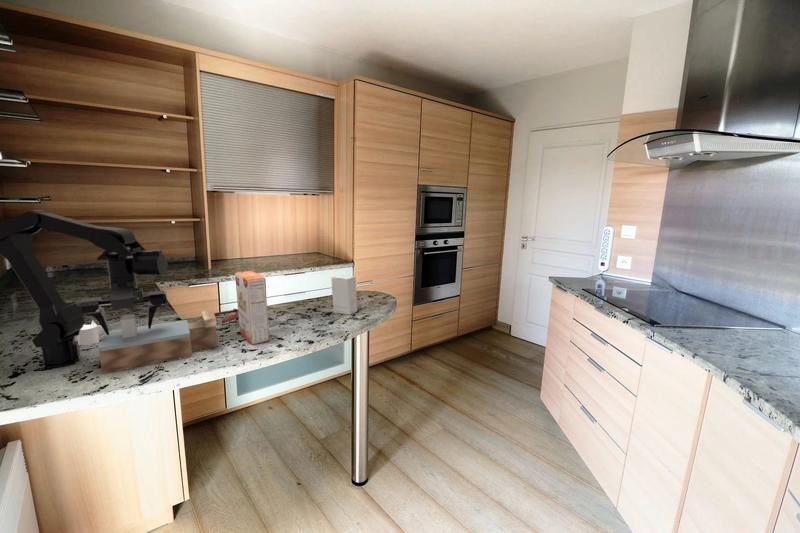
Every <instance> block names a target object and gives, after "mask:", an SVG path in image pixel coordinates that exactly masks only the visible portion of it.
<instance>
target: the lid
mask: <svg viewBox="0 0 800 533" xmlns="http://www.w3.org/2000/svg"><path fill="white" fill-rule="evenodd" d="M119 321H120V327H121V328H120V329H119V328H118V329H113V330H109V335H107V334H106V333H105V332H104V334H103V335H102V337H101V338H102V339H101V341H100V343H99V346H98V353H99V352H100V351H106V350H112V349H118V348H124V347H130V346H136V345H142V344H148V343H154V342H161V341H167V340H173V339H179V338H185V337H190V331H189V327H188V323H189V322H188V319H184V320H176V321H170V322H162V323H156V324H151V328H150V329H149V327H148V324H147V325H142V326H137V320H136V315H135V314H132V315H131V314H130V315H124V316H123V315H122V316H120V320H119Z"/></svg>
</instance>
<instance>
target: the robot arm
mask: <svg viewBox="0 0 800 533" xmlns="http://www.w3.org/2000/svg"><path fill="white" fill-rule="evenodd" d="M42 229H43V230H48V231H51V232H54V233H58V234H63V235H66V236H69V237H74V238H77V239H81V240H85V241H87V242H89V243H91V245H93V246H94V247H97V248H99V249H101V250H103V251H102V253H101V254H100V255H99V256H97V257H96V260H97V261H106V263H107V272H108V279H109V288H110V291H109V299H102V297H101V296H98V297H88V298H87V297H86V298H83V299H82V300H81V301H80V303H78V304H77V303H72V304H69V303H67V302H66V301H64V300H63V298H62V296H61V295H60V293H59V292H58V291H57V289H56V287H55V286H54V283H53V282H52V280H50V278H49V276H48V275H47V273H46V271H45V270H44V267H43V266H42V265H41V262H39V259H38V258H37V257H36V254H34V251H33V249H34V238H33V235H34V234H36V233H39V232H40V231H41V230H42ZM0 256H1V257H3V258H4V259H6V260H7V261H8V263H9V265H10V266H11V267H12V269H13V271H14V272H15V274H16V275H17V277H18V279H19V280H20V281H21V283H22V284H23V287H25V289H26V291H27V292H28V294H29V295H30V297H31V298H32V300H33V301H34V303H35V305H36V306H37V308H38V310H39V312H38V313H39V315H38V316H39V317H38V322H39V325H40V328H41V330H40V332H39V333H38V334H37V335H36V336H34V338H33V339H32V340H31V341H32V343H33V345H34V347H36V348H41V354H42V360H43V365H42V370H47V369H51V368H52V369H53V368H58V367H64V366H70V365H75V364H76V363H77V361H78V359H80V357H81V353H80V345H79V344H78V341H76V337H77V335H79V332H80V329H81V328H82V327H83V325H85V323H86V322H85V316H87V317H90V316H91V317H93V318H94V319H96V321H97V322H98V323H99V325H100V326H102V328H103V329H104V331H105V332H104V334H105V333H106V334H107V335H109V331H110V326H109V324H108V319H107V315H106V311H105V308H110V307H111V310H113V311H119V310H121V309H132V308H134V307H136V304H142V303H148V320H147V321H148V322H147V325H148V327H149V329H150V328H151V325H153V320H154V317H155V314H156V312H157V309H158V308H161V307H163V306H162V305H165V304H167V303H168V301H167V292H166V291H164V290H158V291H157V290H156V291H149V293H148V294H145V295H144V291H143V287H138V283H137V275H138V276H141V277H142V276H143V277H145V276H147V277H149V276H165V275H166V273H167V272H168V267H169V264H168V260H167V258H166V256H165V255H164V254H163V250H162V249H155V250H147V249H146V248H145V247H143V245H142V244H141V243H140V242H139V241H138V240H137V239H136V237H135V234H134V232H133V231H132V230H130V229H129V228H122V227H115V226H103V225H102V226H100V225H95V224H91V223H87V222H86V221H85V222H84V221H81V220H78V219H74V218H70V217H66V216H62V215H60V214H56V213H52V212H49V211H47V210H43V209H37V210H35V209H33V210H31V209H30V210H27V211H25V212H22V213H21V214H19V215H15V216H12V217H9V218H6V219H3V220H1V221H0ZM136 274H137V275H136ZM85 314H86V315H85Z"/></svg>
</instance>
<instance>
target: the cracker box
mask: <svg viewBox="0 0 800 533" xmlns="http://www.w3.org/2000/svg"><path fill="white" fill-rule="evenodd" d="M234 278H235V290H236V302H237V309H238V316H239V318H238V326H239V328H238V329H239V333H240V332H241V333H240V334H241V335H242V336H243V337H244V338H245V340H247V342H248V343H249V344H250V345H252V346H253V345H259V344H262V343H265V342H270V331H269V317H268V316H269V315H268V301H267V300H268V299H267V286H266V285H267V283H266V277H264V276H262V275H260V274H259V273H257V272H255V271H253V270H248V271H247V270H246V271H238V272H235V273H234Z"/></svg>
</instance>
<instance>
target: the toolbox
mask: <svg viewBox="0 0 800 533" xmlns="http://www.w3.org/2000/svg"><path fill="white" fill-rule="evenodd" d="M188 327H189V331H190V337H185V338H179V339H173V340H167V341H161V342H154V343H148V344H142V345H136V346H130V347H124V348H118V349H112V350H106V351H100V352H99V351H98V354H99V361H100V362H99V363H100V368H101V374H102V375H103V373H104V374H108V373H107V372H109V373H113V372H112V371H115V372H118V371H117V370H120V371H123V369H125V370H128V369H127V368H130V369H133V368H132V367H136V368H138V367H137V366H141V367H144V366H143V365H146V366H150V365H149V364H151V365H155V364H154V363H157V364H160V363H159V362H162V363H165V362H164V361H167V362H170V361H169V360H172V361H174V360H173V359H177V360H180V359H179V358H183V359H186V358H185V357H188V358H191V357H190V356H192V357H193V352H196V351H195V350H199V351H201V350H200V349H204V350H207V349H206V348H209V349H212V348H211V347H215V348H218V347H217V346H218V338H217V336H218V335H217V326H215V327H208V328H205V326H204V323H203V320H201V321H194V322H188ZM192 351H193V352H192Z"/></svg>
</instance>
